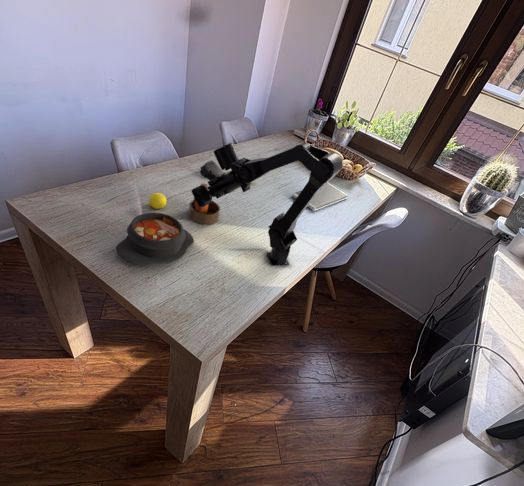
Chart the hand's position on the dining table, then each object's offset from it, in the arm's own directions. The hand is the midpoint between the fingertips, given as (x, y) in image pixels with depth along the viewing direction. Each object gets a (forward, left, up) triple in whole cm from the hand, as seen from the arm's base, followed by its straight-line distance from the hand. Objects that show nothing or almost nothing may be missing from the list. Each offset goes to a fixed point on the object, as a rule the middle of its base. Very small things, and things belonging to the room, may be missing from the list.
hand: (199, 197), depth 128 cm
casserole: (-20, +17, -7) cm, 27 cm away
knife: (+28, -17, -7) cm, 34 cm away
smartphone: (+16, -59, -7) cm, 62 cm away
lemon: (+3, +14, -7) cm, 16 cm away
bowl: (-2, -2, -7) cm, 7 cm away
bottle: (-1, -1, -6) cm, 6 cm away
